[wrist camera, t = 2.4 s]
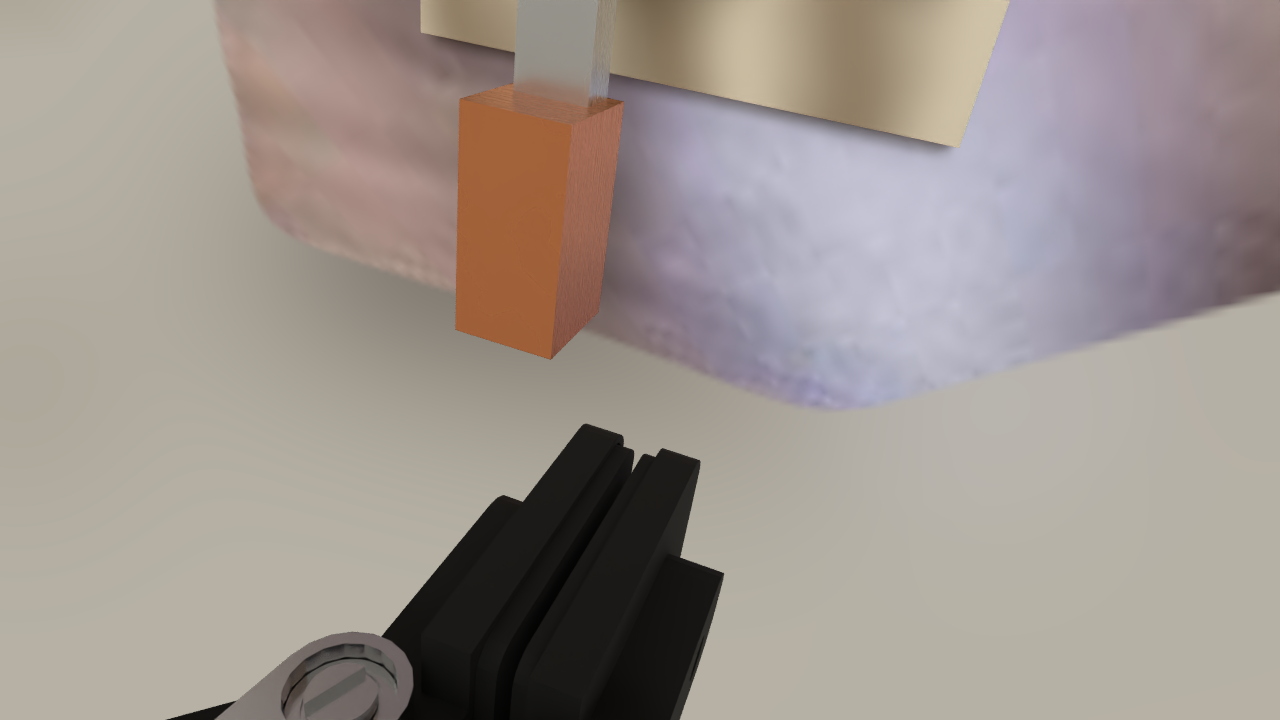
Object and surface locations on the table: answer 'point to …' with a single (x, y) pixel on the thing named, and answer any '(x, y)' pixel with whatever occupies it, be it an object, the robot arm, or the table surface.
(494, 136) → the lever
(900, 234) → the table surface
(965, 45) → the board
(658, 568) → the robot arm
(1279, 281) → the table surface
